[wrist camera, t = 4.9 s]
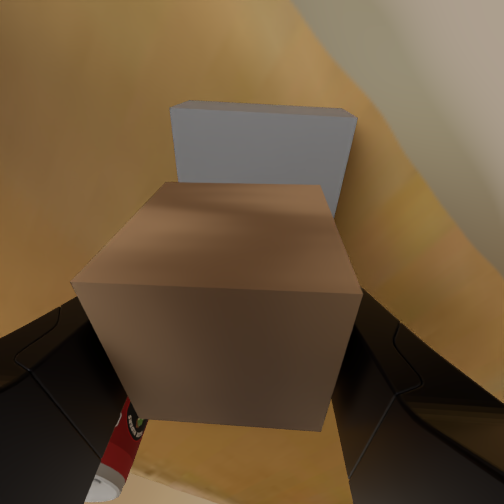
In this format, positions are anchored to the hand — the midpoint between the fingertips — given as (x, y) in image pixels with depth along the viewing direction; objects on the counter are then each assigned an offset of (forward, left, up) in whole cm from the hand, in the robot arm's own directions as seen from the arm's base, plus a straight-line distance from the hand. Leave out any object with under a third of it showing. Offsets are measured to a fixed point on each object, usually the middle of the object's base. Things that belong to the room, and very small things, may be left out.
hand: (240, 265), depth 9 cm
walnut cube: (0, 0, -1) cm, 1 cm away
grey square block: (0, 0, -9) cm, 9 cm away
